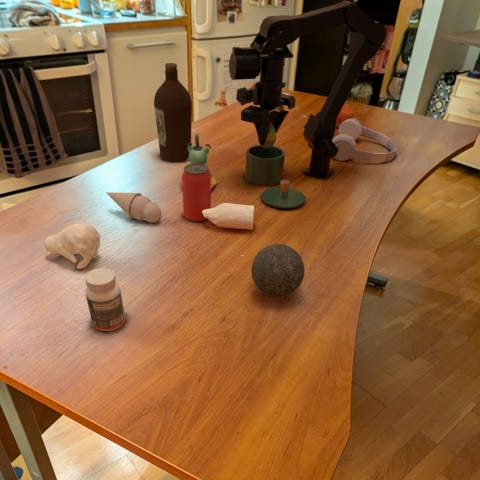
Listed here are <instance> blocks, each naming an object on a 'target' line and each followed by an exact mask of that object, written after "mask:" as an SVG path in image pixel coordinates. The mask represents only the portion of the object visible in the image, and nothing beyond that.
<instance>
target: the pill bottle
mask: <svg viewBox="0 0 480 480" xmlns="http://www.w3.org/2000/svg"><path fill="white" fill-rule="evenodd" d="M84 280H85V285H86V287H85V292H84V293H85V299H86V302H87V306H88V311H89V315H90V316H89V317H90V320H91V323H92V325H93V327H94V328H95V329H96V330H98V331H101V332H102V331H103V332H111V331H114V330H117V329H120V327H122V326H123V324H124V323H125V321H126V313H125V307H124V302H123V296H122V290H121V287H120V284H119V282H117V281H116V275H115V272H114V271H113V270H112V269H110V268H106V267H98V268H93V269H92V270H90V271H88V272H87V273H86V274H85V277H84Z"/></svg>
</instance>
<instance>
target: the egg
mask: <svg viewBox="0 0 480 480" xmlns="http://www.w3.org/2000/svg"><path fill="white" fill-rule="evenodd" d="M257 141H258V145H260V143H259V139H258V138H257ZM276 141H277V134H276V130H275V128H274V126H273V125H271V127H270V130H269V133H268V136H267V139H266V141H265V144H264V145H261V146H262V147H266V148H269V147H272V146H275V143H276Z"/></svg>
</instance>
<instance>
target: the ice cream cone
mask: <svg viewBox="0 0 480 480" xmlns="http://www.w3.org/2000/svg"><path fill="white" fill-rule="evenodd" d="M105 193H106V194H107V196H109V198H110V199H111V200H113V202H114V203H115V204H116V205H117V206H118V207H119V208H120V209H121V210H122V211H123V212H124V213H125V214H126V215H127V216H128V217H129V218H130V219H136V220H139V221H145V222H148V223H156V222H157V221H158V220H160V218H161V215H162V210H161V207H160V206H159V205H158V204H157V203H155V202H152V201H151V200H150V198H149V197H147V196H145V195H143V194H142V193H141V192H105Z"/></svg>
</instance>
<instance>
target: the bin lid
mask: <svg viewBox="0 0 480 480" xmlns="http://www.w3.org/2000/svg"><path fill="white" fill-rule="evenodd" d="M290 183H291V182H290V181H289V180H287V179H282V180H281V181H280V183H279V186H275V187H270V188H267V189H264V190H263V191H262V193H261V195H260V197H261V200H262V202H263V203H265V204H266V205H267V206H270V207H273V208H279V209H295V208H299V207H301V206H303V205H304V203H305V202H306V196H305V194H304V193H303V192H302V191H300V190H298V189H295V188H292V187H290Z"/></svg>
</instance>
